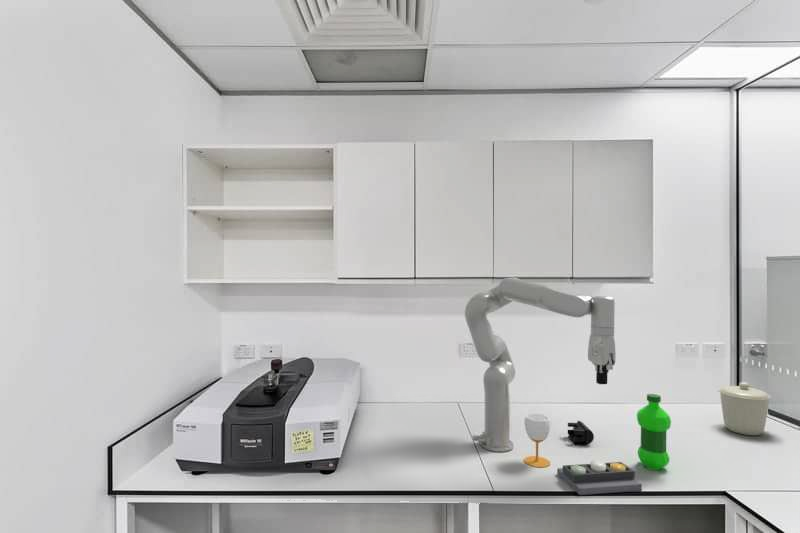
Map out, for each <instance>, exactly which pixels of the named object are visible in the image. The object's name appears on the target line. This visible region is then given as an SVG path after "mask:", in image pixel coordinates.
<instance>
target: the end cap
mask: <svg viewBox="0 0 800 533" xmlns="http://www.w3.org/2000/svg"><path fill="white" fill-rule="evenodd" d="M567 427H568V428H572V429H567V437H568V440H570V441H571V442H572V444H573V445H574V446H580V447H581V446H582V447H583V446H584V447H586V446H588V445H590V444H591V443H593V442H594V439H595V435H594V432H593V431H592V430H591V429H590V428H589V427H588V426H586V424H585V423H584V422H582V421H580V420H577V421H576V422H567Z"/></svg>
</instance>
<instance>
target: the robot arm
mask: <svg viewBox="0 0 800 533" xmlns="http://www.w3.org/2000/svg"><path fill="white" fill-rule="evenodd" d="M512 302H516V303H520V304H524V305H528V306H532V307H535V308H540V309H541V310H547V311H550V312H552V313H557V314H560V315H564V316H568V317H572V318H583V317H584V316H586V315H588V316H589V315H590V334H589V339H588V349H587V359H588V361H589V362H591V363H592V365H594V367H595V373H596V376H595V378H596V384H598V385H607V384H608V373H610V372H609V371H611V370H612V371H613V370H614V369H613V368H614V367H613V366H614V365H615V364H616V358H617V356H616V353H617V352H616V343H615V310H616V309H615V306H616V305H615V304H616V303H615V298H613V297H612V296H605V295H596V296H593V295H586V294H575V295H574V294H569V293H565V292H561V291H557V290H554V289H551V288H549V287H548V286H546V285H544V284H540V283H536V282H531V281H527V280H526V281H525V280H522V279H520V278H519V277H514V276H513V277H506V278H504V279H503V278H502V279H501V281H500V282H499V284H498V285H497V286H495V287H494V288H492V289H490V290H488V291H483V292H479V293H476V294H475V295H473V296H472V297H471V298H470V299H469V300H468V301H467V303H466V306H465V309H464V318H465V321H466V325H467V326H468V330H469V334H470V335H471V339H472V342H473V345H474V348H475V351H476V353H477V356H478V358H479V360H481V361H483V362H485V363H488V364H489V366H488V367H487V369H486V370H485V371H484V374H483V378H482V379H483V391H484V431H482V432H481V433H482V434H480V435H472V436H471V437H472V441H473V442H474V441H477V443H479V445H480V446H481V448H483V449H485V450H488V451H491V452H497V453H498V452H500V453H502V452H504V453H505V452H509V451H512V450H513V448H514V442H513V441H512V440H510V428H511V427H510V426H511V425H510V423H511V422H510V421H511V420H510V417H511V415H510V414H511V409H510V407H511V405H510V404H511V402H510V400H511V399H510V397H511V396H510V390H509V388H510V383H512V381H514V379H515V376H516V369H515V366H514V363H513V360H512V357H511V355H510V351H509V348H508V346H507V344H506V342H505V341H504V339H503V338H502V337H501V336H500V335H496V334H494V331H493V329H492V326H491V324H490V321H489V320H488V318H487V315H488V314H490V313H494V312H495V311H498V310H500V309H502V308H503V307H505V306H506V305H509V304H510V303H512Z"/></svg>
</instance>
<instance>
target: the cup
mask: <svg viewBox="0 0 800 533" xmlns="http://www.w3.org/2000/svg"><path fill="white" fill-rule="evenodd" d="M524 427H525V428H524V429H525V431H526V434H527V437H528V438H529V439H530V440H531V441H532V442H534V443H535V455H531V456H530V455H529V456H525V458H524V459H523V462H524V463H525V464H527V466H530V467H534V468H548V467H549V466H550V465H551V462H550V460H548V459H547V458H545V457H543V456H539V443H542V442H544V441H545V440H546V439H547V438H548V436H549V434H550V431H551V419H550V417H549V416H548V415H546V414H540V413H528V414H526V415H525V417H524Z"/></svg>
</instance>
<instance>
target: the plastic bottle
mask: <svg viewBox="0 0 800 533" xmlns="http://www.w3.org/2000/svg"><path fill="white" fill-rule="evenodd" d="M646 400H647V402H648V404H647V405H645V406H643V407H642V408H640V409H638V411H637V413H636V419H637V420H636V421H637V423H638V426H640V446H639V447H638V449H637V456H638V459H639V460H640V462H641V463H642V464H643V466H646V467H645V468H647V469H649V470H654V471H655V470H656V471H660V470H662V468H665V467H666V466H668V465H669V462H670V456H669V453H668V451H667V430H669V429H670V428H671V424H672V420H671V417H670V415H669V414H668V412H666V411H665V410H664V408H662V407H661V406H660V403H661V401H662V397H661V395H659V394H655V393H648V394H646Z"/></svg>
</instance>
